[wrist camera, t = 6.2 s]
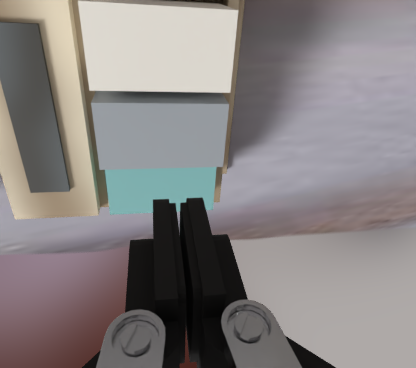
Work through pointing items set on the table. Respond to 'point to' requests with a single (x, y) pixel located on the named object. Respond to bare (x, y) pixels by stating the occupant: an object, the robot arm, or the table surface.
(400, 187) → the table surface
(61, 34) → the tan wooden box
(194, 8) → the white rectangular block
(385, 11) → the table surface
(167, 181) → the teal key
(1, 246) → the table surface
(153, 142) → the slate key
